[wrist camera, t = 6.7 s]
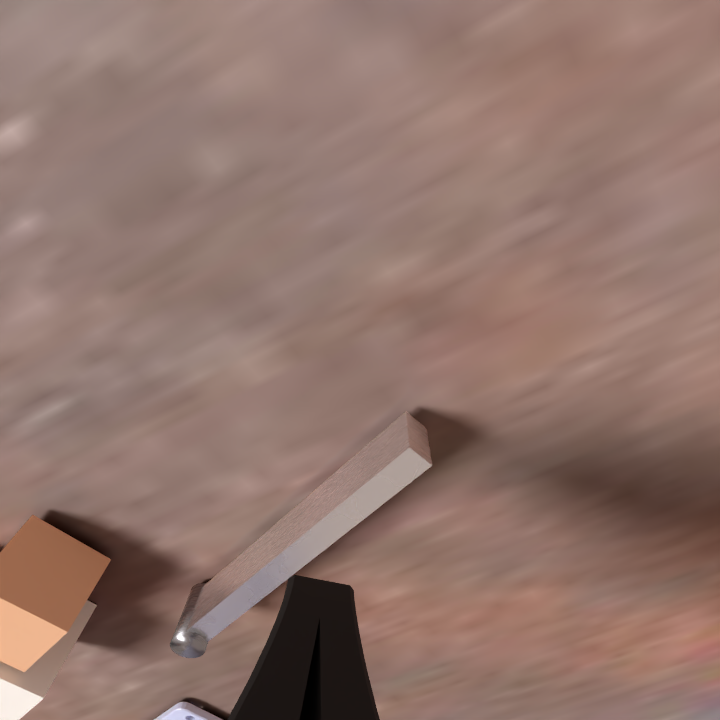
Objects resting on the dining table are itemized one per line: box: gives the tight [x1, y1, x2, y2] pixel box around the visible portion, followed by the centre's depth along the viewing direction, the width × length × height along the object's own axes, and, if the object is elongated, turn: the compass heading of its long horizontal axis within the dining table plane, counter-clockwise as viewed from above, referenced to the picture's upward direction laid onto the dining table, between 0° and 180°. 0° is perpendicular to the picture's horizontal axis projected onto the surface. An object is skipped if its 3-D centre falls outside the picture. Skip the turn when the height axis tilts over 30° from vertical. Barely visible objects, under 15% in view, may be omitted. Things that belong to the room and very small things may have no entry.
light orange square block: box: [0, 515, 111, 672], centre depth 19 cm, size 4×4×3 cm
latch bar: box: [170, 412, 432, 658], centre depth 18 cm, size 14×1×2 cm, turn 138°
